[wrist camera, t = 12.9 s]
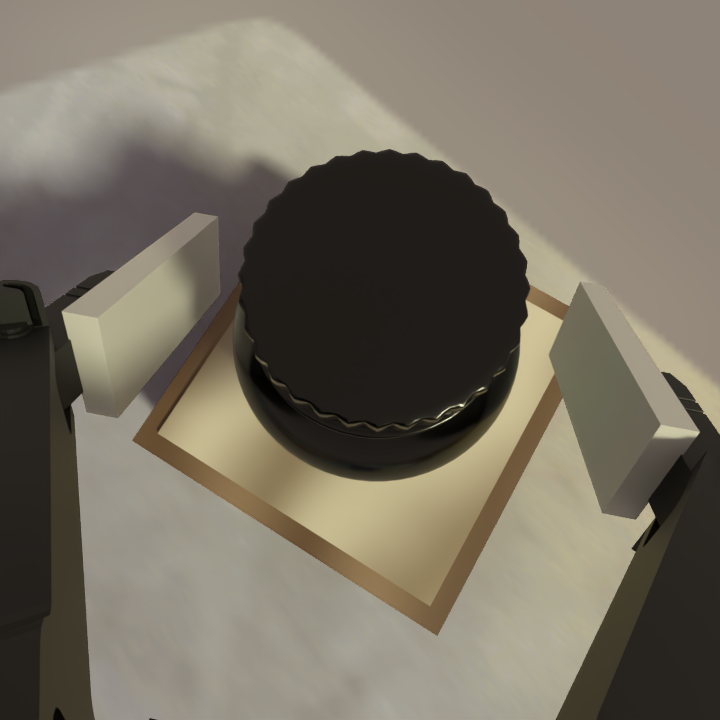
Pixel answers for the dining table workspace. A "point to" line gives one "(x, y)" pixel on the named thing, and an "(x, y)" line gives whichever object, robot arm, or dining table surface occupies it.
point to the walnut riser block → (353, 497)
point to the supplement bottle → (380, 315)
